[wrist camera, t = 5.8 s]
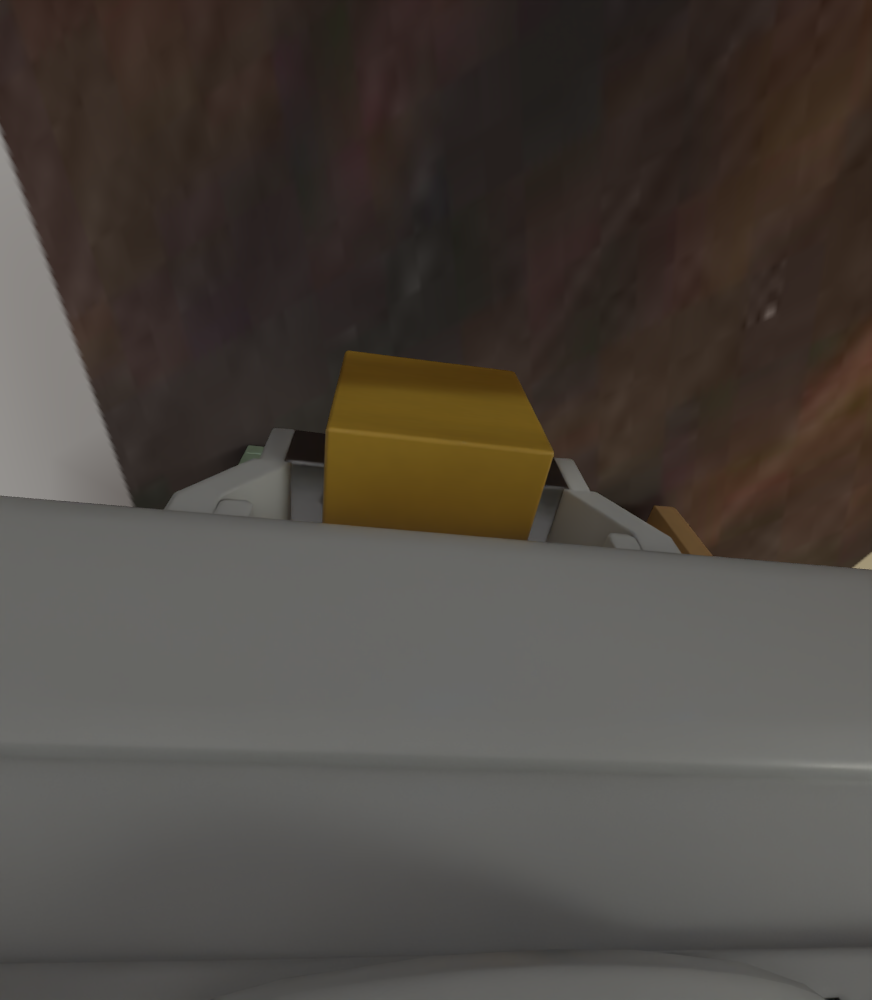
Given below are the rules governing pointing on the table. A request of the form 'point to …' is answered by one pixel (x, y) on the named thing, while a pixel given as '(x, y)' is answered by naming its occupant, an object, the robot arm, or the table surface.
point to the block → (432, 449)
